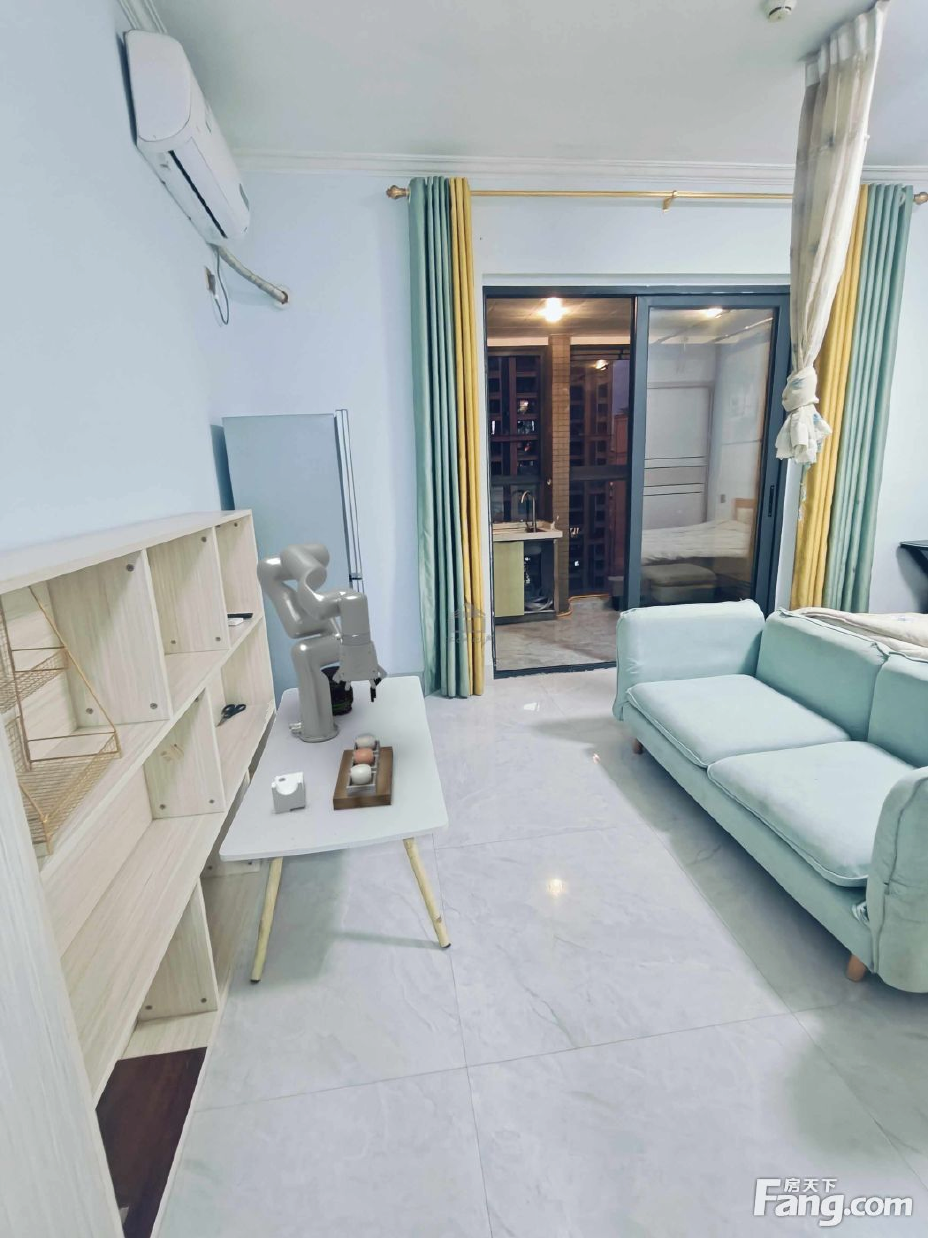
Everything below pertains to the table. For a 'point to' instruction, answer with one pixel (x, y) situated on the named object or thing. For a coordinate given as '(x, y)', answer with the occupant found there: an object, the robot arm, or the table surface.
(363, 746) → the far button
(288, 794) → the bracket
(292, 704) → the table surface
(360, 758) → the middle button
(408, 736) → the table surface
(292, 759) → the table surface
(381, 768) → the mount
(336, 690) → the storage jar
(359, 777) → the near button
